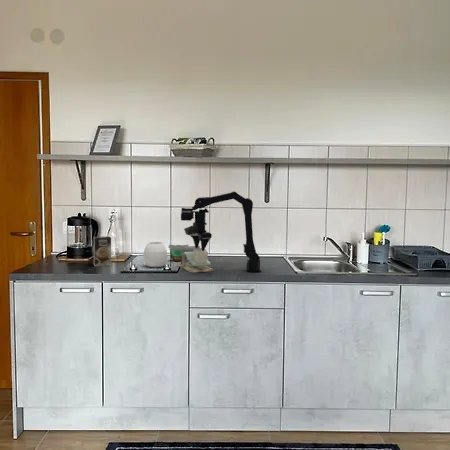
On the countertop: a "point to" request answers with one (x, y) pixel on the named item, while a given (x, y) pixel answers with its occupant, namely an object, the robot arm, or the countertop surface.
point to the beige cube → (200, 255)
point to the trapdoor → (191, 255)
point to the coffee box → (102, 251)
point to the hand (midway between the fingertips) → (199, 249)
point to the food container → (176, 252)
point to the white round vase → (155, 254)
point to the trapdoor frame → (193, 268)
